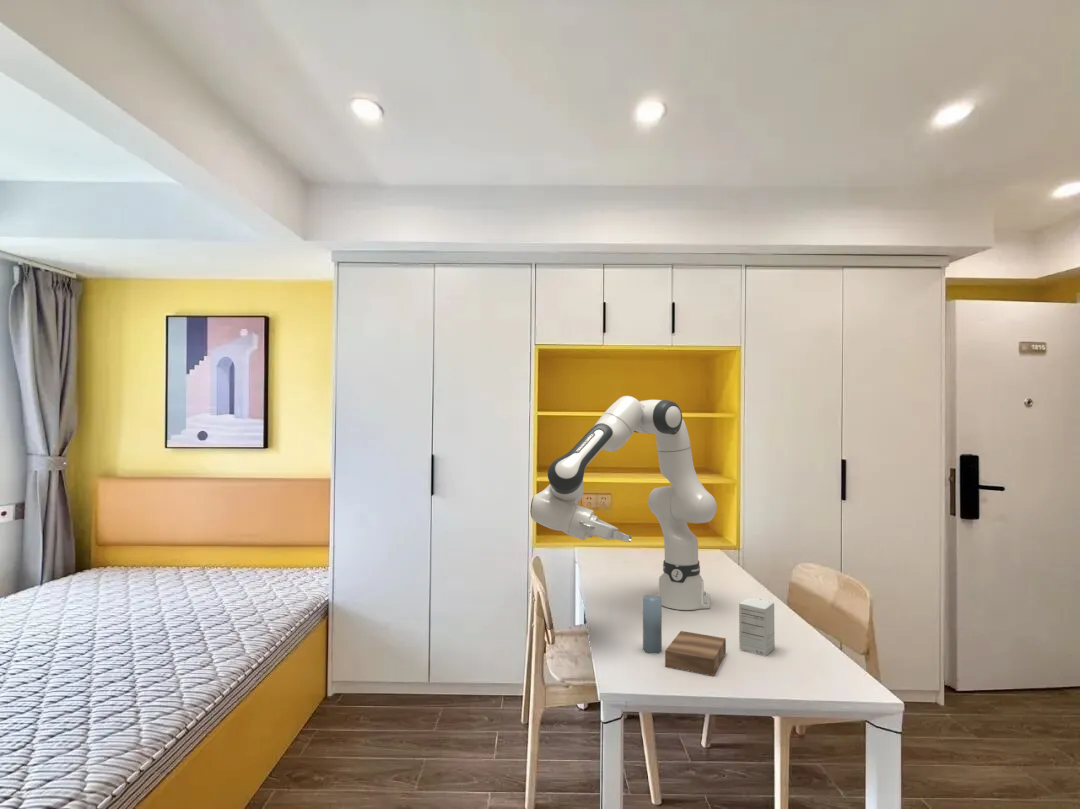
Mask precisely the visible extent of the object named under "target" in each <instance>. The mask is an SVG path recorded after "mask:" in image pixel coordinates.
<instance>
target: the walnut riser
mask: <svg viewBox="0 0 1080 809" xmlns="http://www.w3.org/2000/svg"><path fill="white" fill-rule="evenodd" d="M726 640H727V638H726V637H720V636H715V635H708V634H702V633H697V632H691V631H690V632H689V631H684V630H680V631H679V632H678V634H677V635H676V636H675V637H674V638H673V640H672V641H671V642H670V644H669V645H668V646H667V647H666V649H665V650H664V652H665V653H664V654H665V656H664V665H665V666H666V668H670V667H673V668H672V669H675V668H678V669H677V670H680V669H683V670H682V671H685V670H689V671H688V672H690V671H693V672H692V673H696V672H699V673H698V674H701V673H703V674H702V675H706V674H708V676H711V675H713V677H714V676H715V674H716V673H717V671H718V669H719V667H720V665H721V663H722V662H723V660H722V659H724V658H725V656H724V655H726V654H725V653H727V652H726V651H727V650H726V649H727V646H726V643H727V642H726ZM723 657H724V658H723Z"/></svg>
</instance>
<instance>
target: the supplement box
mask: <svg viewBox="0 0 1080 809" xmlns="http://www.w3.org/2000/svg"><path fill="white" fill-rule="evenodd" d="M738 606H739V607H738V608H739V609H738V613H739V615H738V616H739V619H738V623H739V627H738V631H739V632H738V633H739V637H738V638H739V639H738V640H739V641H738V642H739V650H740V649H741V650H740V651H743V650H745V651H744V652H747V651H749V652H748V653H751V652H753V653H752V654H754V653H756V654H755V655H758V654H760V655H759V656H763V655H764V657H766V656H768V655H769V654H770V653H771V652H772V651H773V650H774V649H776V648H775V642H776V641H775V602H773V601H770V600H765V599H759V598H758V599H757V598H753V597H747V598H746V599H744V600H742V601H741V602H739V604H738Z"/></svg>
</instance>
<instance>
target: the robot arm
mask: <svg viewBox="0 0 1080 809" xmlns="http://www.w3.org/2000/svg"><path fill="white" fill-rule="evenodd" d="M634 433H641V434H646V435H647V434H648V435H649V434H650V435H652V434H654V435H655V439H656V452H657V457H658V464H659V471H660V473H661V475H662V476H663V477H664V478H665V479H666V480H667V481H668V482H669V484H670V485H671V486H670V485H669V486H667V485H666V486H660V487H655V488H653V489H652V490H651V491H650V493H649V496H648V499H647V501H648V502H647V503H648V505H647V506H648V508H649V510H650V511H651V513H652V514H653V515H654V516H655V518H656V519H657V521H658V523H659V526H660V529H661V532H662V536H663V545H664V560H663V562H662V571H663V573H662V574H661V575H660V576H659V577H658V589H657V590H658V592H657V595H656V596H659V597H661V598H662V606H663V607H665V608H668V609H673V610H679V611H695V610H702V609H710V608H711V594H710V593H708V592H707V591H704V579H703V578H702V575H701V566H700V560H699V540H698V538H697V536H696V535H695V533H693V532H692V531H691V529H690V528H689V526H688V523H692V524H704V523H709V522H711V521H712V520H713V519H714V517H715V516H716V513H717V508H718V507H717V506H718V505H717V501H716V499H715V497H714V496H713V495H712V494H711V493H710V492H709V491H708V490H707V489H706V488H705V487H704V485H703V484H702V482H701V481H700V479H699V476H698V475H697V472H696V470H695V466H694V465H695V464H694V461H693V454H692V453H693V452H692V447H691V446H692V445H691V439H690V435H689V432H688V428H687V426H686V423H685V420H684V418H683V414H682V410H681V407H680V406H679V405H678V403H676V402H675V401H673V400H669V399H646V400H638V399H637V398H635V397H633V396H631V395H623V396H620V397H619V398H618V399H617V400H615V402H613V403H612V404H611V405H610V406H609V407H608V408H607V409H606V410H605V411H604V412H603V414H602V415H601V416H600V418H598V419H597V421H596V422H595V424H594V425H593V426H592V428H590V429H589V430H588V431H587V432H586V433H585V434H584V436H583V437H581V439H580V440H578V442H577V443H576V445H574V446H573V447H572V448H571V449H570V451H568V452H567V453H565V454H563V455H562V456H559V457H557V458H556V459H555V460H554V461H552V462H551V464H550V465H549V467H548V470H547V480H548V482H549V484H548V485H547V487H545V488H544V489H543V490H542V491H540V492H538V493H535V494H534V495H533V497H532V499H531V503H530V517H531V519H532V520H533V521H534V522H535V523H537V524H539V525H541V526H544V527H546V528H548V529H550V530H554V531H559V532H563V533H565V534H566V535H568V536H569V537H573V538H576V539H579V540H581V541H585V540H586V539H587V538H590V539H591V538H593V537H598V538H600V539H604V540H609V541H610V540H611V541H612V540H618V541H622V542H625V543H631V542H632V535H629V534H626V533H624V532H622V531H619V528H618V527H617V526H614V525H612V524H610V523H609V522H606V521H604V520H602V519H600V518H599V516H597V515H595V511H594V510H593V509H590V508H586V507H585V506H581V505H579V504H580V502H581V500H582V499H583V497H584V492H585V491H584V490H585V489H584V488H585V487H584V475H585V470H586V468H587V466H588V465H589V464H590V463H591V462H592V460H594V459H595V457H597V455H598V454H599V452H601V451H603V450H604V451H607V452H616V451H619V449H621V448H622V447H623V446H624V445H625V444H626V443H627V442H628V441H629V439H630V438H631V437H632V435H633V434H634Z"/></svg>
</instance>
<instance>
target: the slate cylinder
mask: <svg viewBox="0 0 1080 809" xmlns="http://www.w3.org/2000/svg"><path fill="white" fill-rule="evenodd" d="M662 606H663V605H662V598H661V597H659V596H657V595H650V594H647V595H644V596H643V597H642V651H643V650H644V651H645V652H644V651H643V652H644V653H646V652H647V653H646V654H650V653H658V654H660V653H659V652H661V651H662V647H663V646H662V644H663V642H662V640H663V639H662V638H663V631H662V630H663V629H662V627H663V626H662V625H663V620H662V617H663V615H662V614H663V613H662V612H663V607H662ZM662 652H663V651H662ZM662 652H661V653H662Z"/></svg>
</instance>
